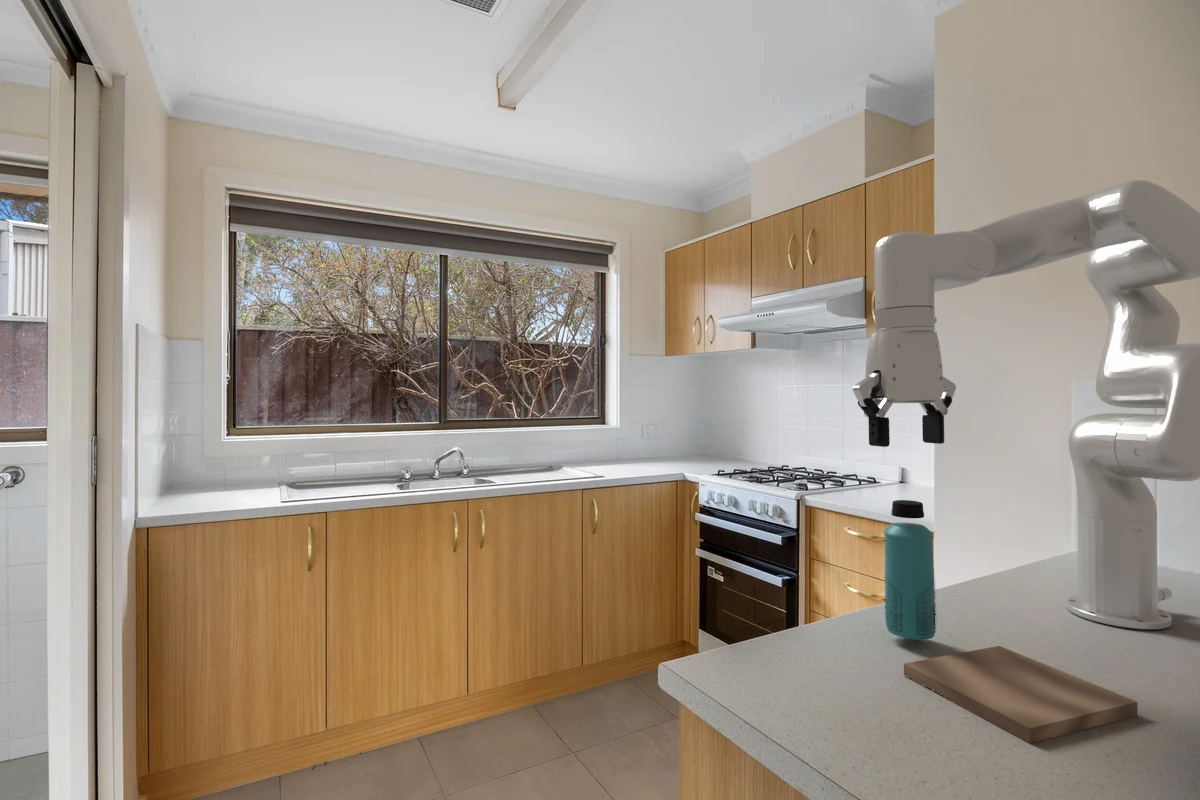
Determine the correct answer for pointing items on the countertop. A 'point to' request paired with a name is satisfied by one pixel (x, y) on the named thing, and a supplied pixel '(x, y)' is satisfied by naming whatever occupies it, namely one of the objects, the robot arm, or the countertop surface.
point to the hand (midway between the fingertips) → (906, 444)
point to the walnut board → (1020, 693)
